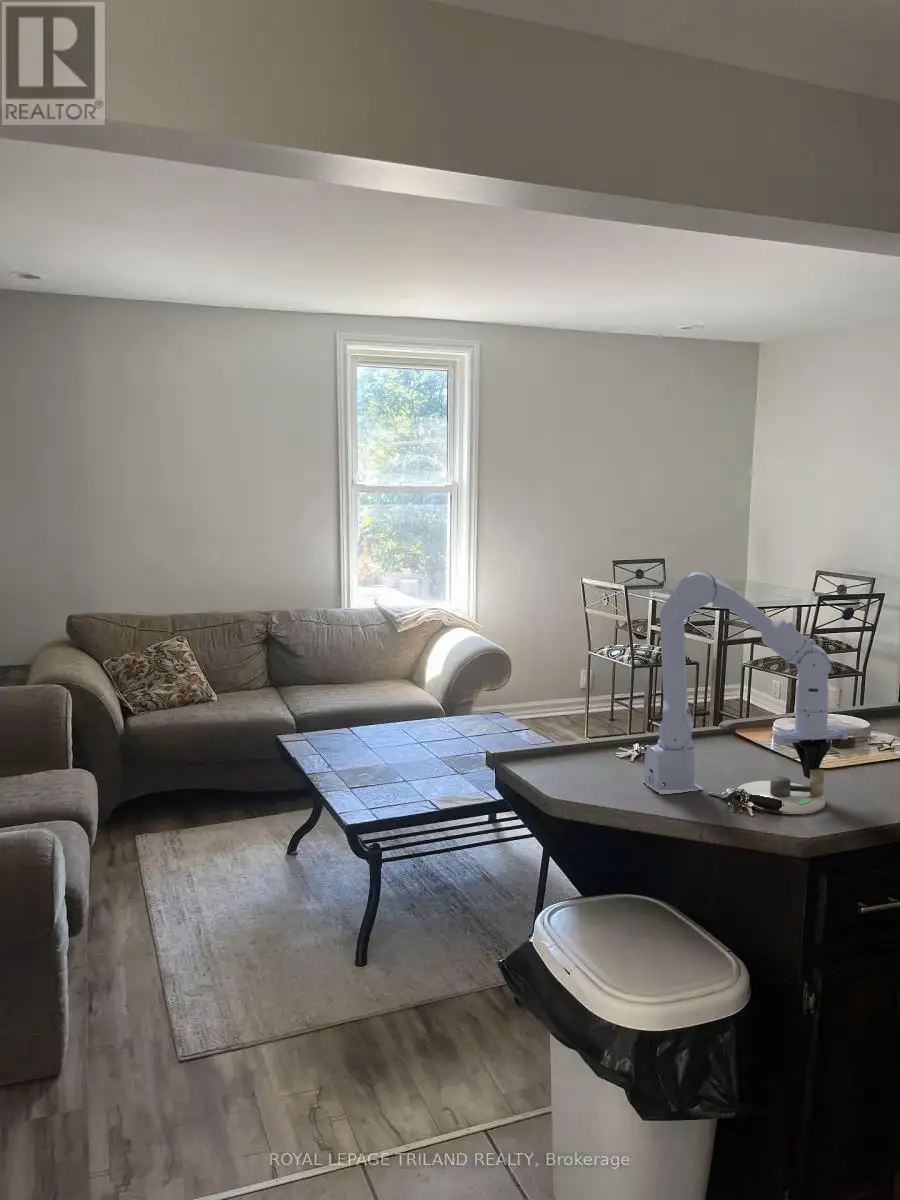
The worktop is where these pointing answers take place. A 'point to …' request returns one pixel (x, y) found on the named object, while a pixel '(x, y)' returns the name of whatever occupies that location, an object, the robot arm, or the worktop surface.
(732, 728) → the worktop surface
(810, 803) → the dial plate
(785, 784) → the crank handle
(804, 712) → the robot arm
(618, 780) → the worktop surface
